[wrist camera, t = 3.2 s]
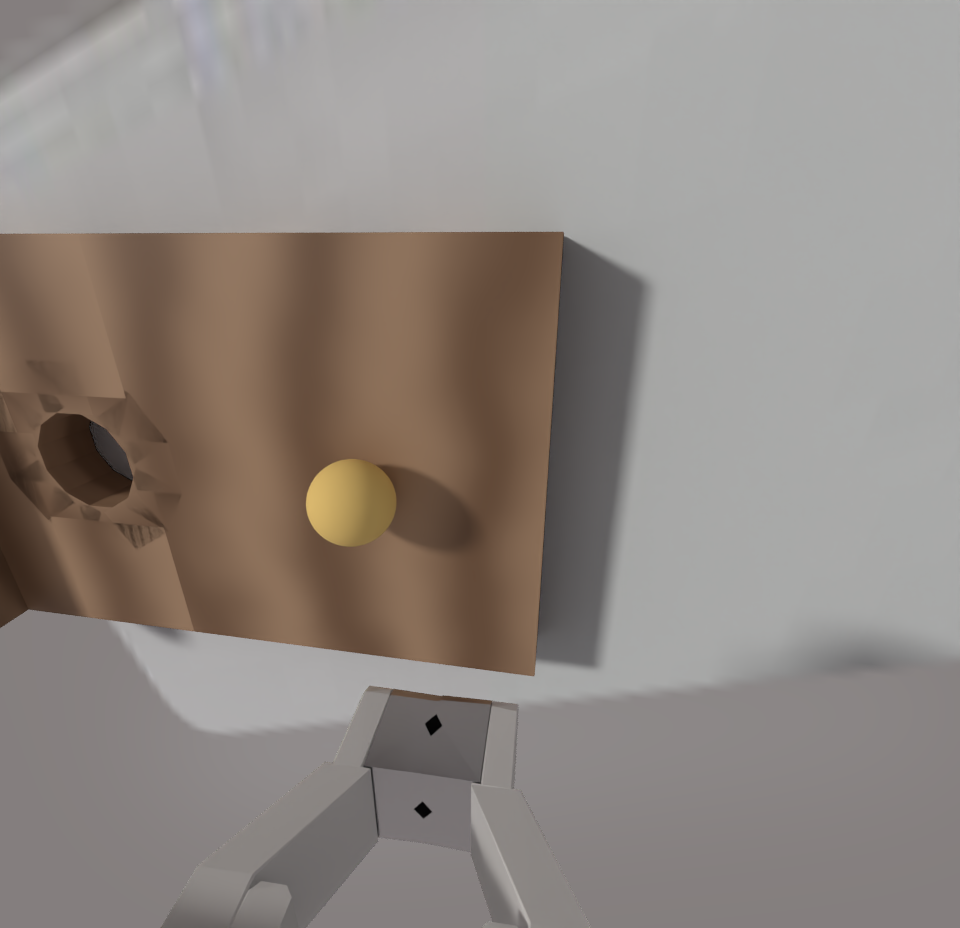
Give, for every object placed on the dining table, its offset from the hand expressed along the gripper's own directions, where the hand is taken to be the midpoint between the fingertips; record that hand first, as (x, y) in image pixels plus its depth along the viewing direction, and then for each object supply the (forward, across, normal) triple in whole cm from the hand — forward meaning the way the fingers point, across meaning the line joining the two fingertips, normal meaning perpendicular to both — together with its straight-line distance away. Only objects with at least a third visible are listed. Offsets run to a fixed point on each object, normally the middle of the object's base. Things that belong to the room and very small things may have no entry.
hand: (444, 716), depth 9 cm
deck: (+13, +12, 0) cm, 17 cm away
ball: (+8, +5, 0) cm, 10 cm away
